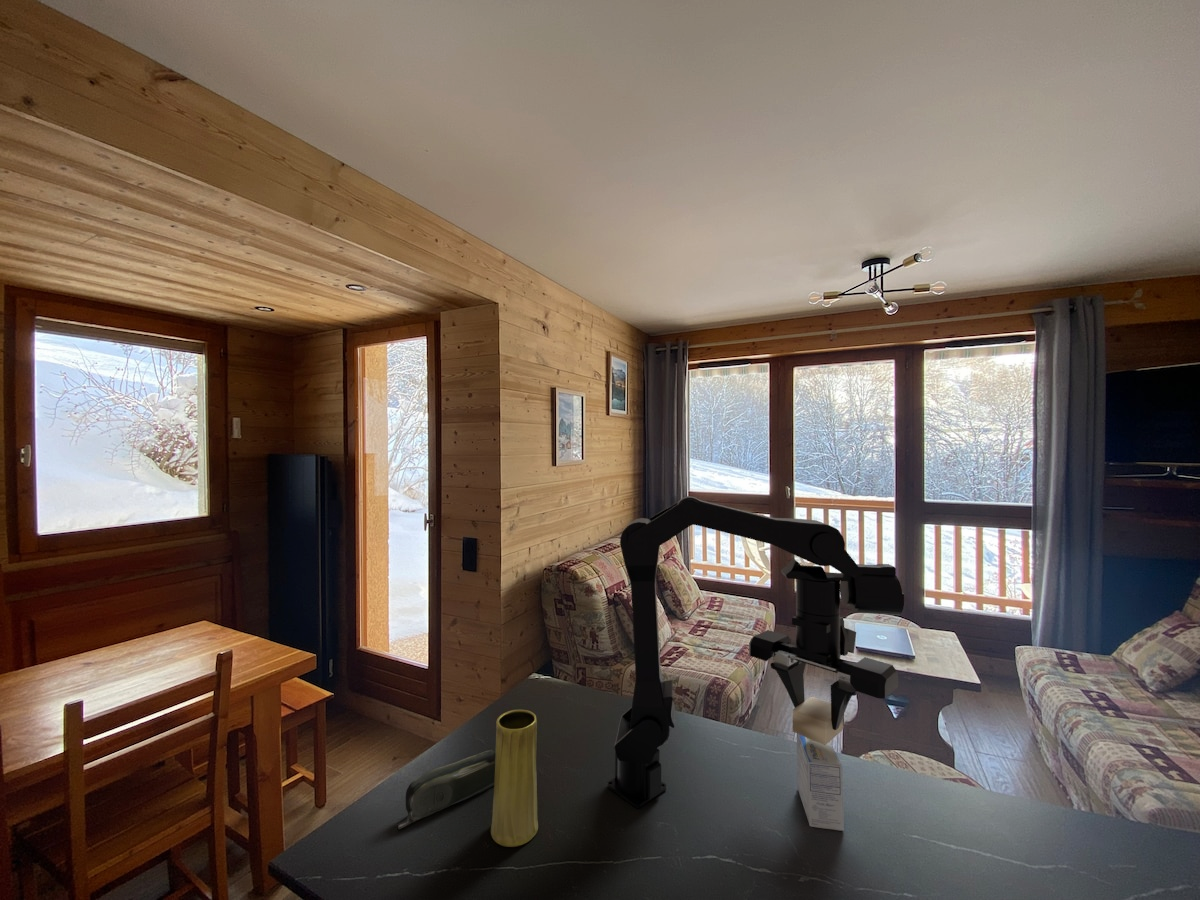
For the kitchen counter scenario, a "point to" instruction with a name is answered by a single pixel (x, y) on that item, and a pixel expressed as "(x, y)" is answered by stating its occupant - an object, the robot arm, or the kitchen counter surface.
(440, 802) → the stapler
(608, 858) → the kitchen counter surface
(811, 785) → the medicine box
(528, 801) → the vase
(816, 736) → the beech block
